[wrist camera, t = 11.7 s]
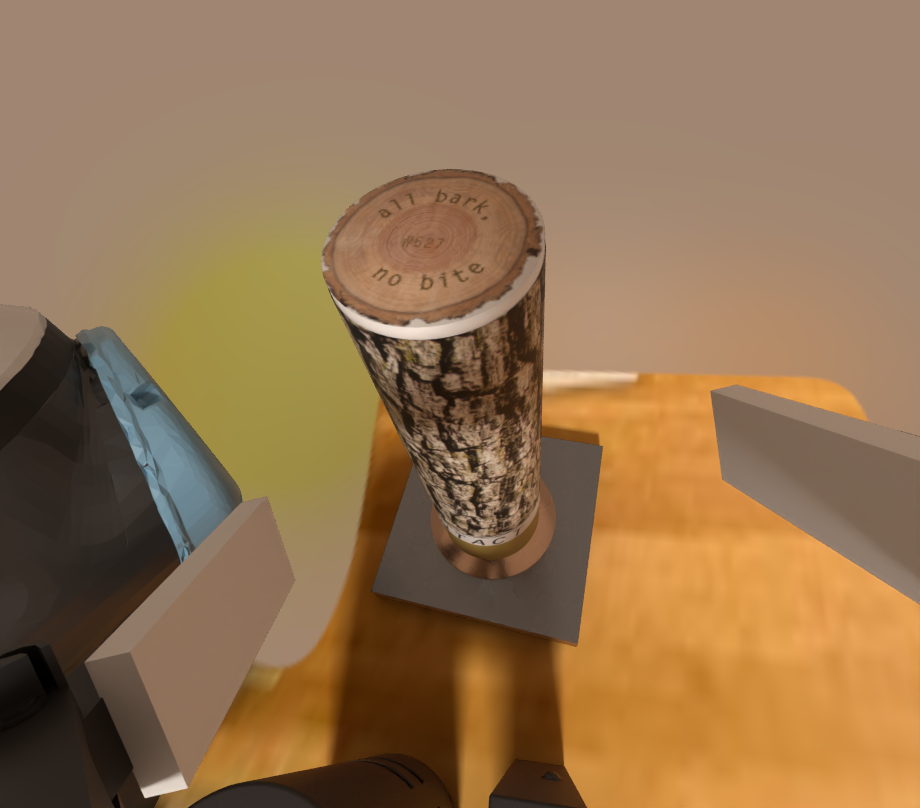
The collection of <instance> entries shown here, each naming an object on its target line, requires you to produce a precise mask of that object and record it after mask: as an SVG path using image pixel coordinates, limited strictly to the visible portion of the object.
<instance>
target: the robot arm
mask: <svg viewBox="0 0 920 808" xmlns="http://www.w3.org/2000/svg"><path fill="white" fill-rule="evenodd" d="M76 337H77V338H76V339H75V340H73V339H70V338H69V337H68V336H66V335H65V334H64V333H63V332H62V331H61V330H59V329H58V328H57V327H56V326H55V325H54V324H52V323H51V322H50V321H49V320H48V319H47V318H45V317H44V316H43V315H42V314H41V313H39V312H38V311H37V310H36V309H33V308H31V307H24V306H13V305H2V304H0V808H153V807H154V805H155V804H156V802H157V800H158V798H159V795H161V794H165V793H169V792H174V791H178V790H182V789H186V788H188V787H189V785H190V783H191V781H192V779H193V777H194V775H195V773H196V771H197V769H198V767H199V766H200V764H201V762H202V760H203V758H204V756H205V754H206V752H207V750H208V748H209V746H210V744H211V742H212V740H213V738H214V737H215V735H216V733H217V731H218V729H219V727H220V725H221V723H222V721H223V719H224V717H225V715H226V713H227V711H228V709H229V708H230V706H231V704H232V702H233V700H234V698H235V696H236V694H237V692H238V690H239V688H240V686H241V684H242V682H243V680H244V678H245V677H246V675H247V673H248V671H249V669H250V667H251V665H252V663H253V661H254V659H255V657H256V655H257V653H258V651H259V649H260V647H261V645H262V644H263V642H264V640H265V638H266V636H267V634H268V632H269V630H270V628H271V626H272V624H273V622H274V620H275V619H276V617H277V615H278V612H279V611H280V609H281V607H282V605H283V603H284V601H285V599H286V597H287V595H288V593H289V591H290V589H291V587H292V586H293V584H294V582H295V578H294V575H293V572H292V569H291V566H290V563H289V560H288V557H287V554H286V551H285V548H284V545H283V542H282V539H281V536H280V533H279V530H278V527H277V524H276V521H275V518H274V515H273V512H272V509H271V506H270V503H269V500H268V497H262V498H258V499H253V500H249V501H246V502H242V495H241V491H240V489H239V487H238V485H237V484H236V482H235V481H234V480H233V479H232V477H231V476H230V474H229V473H228V472H227V471H226V469H225V468H224V467H223V465H222V464H221V463H220V462H219V460H218V459H217V458H216V457H215V455H214V454H213V453H212V452H211V450H210V449H209V448H208V447H207V445H206V444H205V443H204V441H203V440H202V439H201V438H200V437H199V435H198V434H197V433H196V431H195V430H194V429H193V428H192V426H191V425H190V424H189V423H188V422H187V420H186V419H185V418H184V417H183V415H182V414H181V413H180V412H179V411H178V409H177V408H176V407H175V405H174V404H173V403H172V402H171V401H170V399H169V398H168V397H167V395H166V394H165V393H164V392H163V390H162V389H161V388H160V387H159V386H158V384H157V383H156V382H155V381H154V379H153V378H152V377H151V376H150V374H149V373H148V372H147V371H146V369H145V368H144V367H143V366H142V365H141V363H140V362H139V361H138V360H137V358H136V357H135V356H134V355H133V354H132V353H131V352H130V350H129V349H128V348H127V347H126V345H125V344H124V343H123V342H122V340H121V339H120V338H119V337H118V336H117V334H116V333H115V332H114V331H113V330H112V329H110V328H107V327H103V326H102V327H97V328H94V329H92V330H82V331H80V332H79V333H78V334H77V335H76ZM711 399H712V406H713V413H714V421H715V428H716V436H717V443H718V451H719V458H720V466H721V473H722V480H724V481H726V482H727V483H729V484H730V485H732V486H734V487H735V488H737V489H738V490H740V491H741V492H743V493H745V494H746V495H748V496H749V497H751V498H752V499H754V500H756V501H757V502H759V503H760V504H762V505H763V506H765V507H767V508H768V509H770V510H771V511H773V512H775V513H776V514H778V515H779V516H781V517H782V518H784V519H786V520H787V521H789V522H790V523H792V524H793V525H795V526H797V527H798V528H800V529H801V530H803V531H805V532H806V533H808V534H809V535H811V536H812V537H814V538H816V539H817V540H819V541H820V542H822V543H823V544H825V545H827V546H828V547H830V548H831V549H833V550H835V551H836V552H838V553H839V554H841V555H842V556H844V557H846V558H847V559H849V560H850V561H852V562H853V563H855V564H857V565H858V566H860V567H861V568H863V569H864V570H866V571H868V572H869V573H871V574H872V575H874V576H876V577H877V578H879V579H880V580H882V581H883V582H885V583H887V584H888V585H890V586H891V587H893V588H894V589H896V590H898V591H899V592H901V593H902V594H904V595H906V596H907V597H909V598H910V599H912V600H913V601H915V602H917V603H918V604H920V436H917V435H913V434H910V433H906V432H903V431H898V430H894V429H891V428H887V427H884V426H880V425H877V424H873V423H870V422H866V421H863V420H859V419H856V418H852V417H849V416H845V415H842V414H838V413H835V412H831V411H827V410H824V409H820V408H817V407H813V406H810V405H806V404H803V403H799V402H796V401H792V400H789V399H785V398H782V397H778V396H775V395H771V394H768V393H764V392H761V391H757V390H753V389H750V388H746V387H743V386H739V385H733V386H729V387H725V388H721V389H716V390H712V391H711Z"/></svg>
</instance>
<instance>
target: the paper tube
mask: <svg viewBox="0 0 920 808" xmlns="http://www.w3.org/2000/svg"><path fill="white" fill-rule="evenodd" d="M545 253H546V245H545V229H544V223H543V219H542V216H541V214H540V212H539V210H538V208H537V207H536V205H535V203H534V202H533V201H532V200H531V198H530V197H529V196H528V195H527V194H525V193H524V192H523V191H522V190H520V189H519V188H518V187H517V186H515V185H513V184H511V183H510V182H508V181H506V180H504V179H501V178H499V177H496V176H493V175H490V174H486V173H482V172H476V171H471V170H458V169H455V170H454V169H447V170H434V171H426V172H420V173H416V174H412V175H408V176H405V177H402V178H399V179H396V180H393V181H391V182H388V183H386V184H384V185H382V186H379V187H378V188H376V189H374V190H372V191H370V192H369V193H367V194H366V195H364V196H363V197H361V198H360V199H358V200H357V201H356V202H355V203H353V204H352V205H351V206H350V207H349V208H348V209H347V210H346V211H345V212H344V213H343V214H342V215H341V216H340V217H339V219H338V220H337V221H336V222H335V224H334V225H333V227H332V228H331V230H330V232H329V234H328V236H327V238H326V241H325V244H324V247H323V252H322V261H321V263H322V272H323V276H324V279H325V282H326V284H327V286H328V289H329V292H330V294H331V297H332V299H333V301H334V303H335V305H336V307H337V309H338V311H339V313H340V315H341V317H342V319H343V322H344V323H345V326H346V328H347V330H348V332H349V334H350V336H351V338H352V340H353V342H354V344H355V346H356V348H357V350H358V352H359V354H360V356H361V358H362V360H363V362H364V364H365V366H366V368H367V370H368V372H369V375H370V377H371V379H372V380H373V383H374V385H375V387H376V389H377V391H378V393H379V395H380V397H381V399H382V401H383V403H384V405H385V407H386V409H387V411H388V413H389V415H390V417H391V419H392V421H393V424H394V426H395V428H396V430H397V432H398V434H399V436H400V438H401V440H402V442H403V444H404V446H405V448H406V450H407V452H408V454H409V456H410V458H411V460H412V462H413V464H414V466H415V468H416V470H417V473H418V475H419V477H420V479H421V481H422V483H423V485H424V487H425V489H426V491H427V493H428V495H429V497H430V499H431V501H432V503H433V505H434V507H435V509H436V511H437V513H438V514H439V517H440V519H441V521H442V523H443V525H444V527H445V529H446V531H447V533H448V535H449V537H450V538H451V540H452V541H453V542H454V543H455V544H456V546H458V547H459V548H460V549H461V550H462V551H464V552H465V553H467V554H469V555H471V556H473V557H476V558H480V559H486V560H496V559H502V558H506V557H508V556H511V555H513V554H515V553H516V552H518V551H519V550H521V549H522V548H523V547H524V546H525V545H526V544H527V543H528V542H529V541H530V539H531V538H532V536H533V534H534V532H535V530H536V527H537V524H538V519H539V501H540V467H541V425H542V383H543V340H544V297H545V256H546V255H545Z"/></svg>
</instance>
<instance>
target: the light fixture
mask: <svg viewBox="0 0 920 808" xmlns="http://www.w3.org/2000/svg"><path fill="white" fill-rule="evenodd" d="M188 808H454V806H453V803H452V800H451V798H450V796H449V793H448V791H447V789H446V788H445V786H444V784H443V783H442V781H441V780H440V779H439V777H438V776H437V775H436V774H435V773H434V772H433V771H432V770H431V769H430V768H429V767H428V766H427V765H425V764H424V763H422V762H421V761H419V760H417V759H415V758H413V757H410V756H406V755H402V754H385V755H380V756H375V757H369V758H364V759H359V760H354V761H349V762H344V763H339V764H334V765H329V766H324V767H319V768H314V769H308V770H303V771H298V772H293V773H288V774H283V775H278V776H273V777H268V778H263V779H258V780H253V781H247V782H242V783H238V784H234V785H230V786H227V787H224V788H222V789H219V790H217V791H215V792H213V793H211V794H209V795H207V796H205V797H203V798H202V799H200V800H198V801H197V802H195V803H194V804H192V805H191V806H190V807H188ZM489 808H587V807H586V805H585V803H584V801H583V799H582V798H581V796H580V794H579V792H578V790H577V788H576V787H575V785H574V783H573V781H572V779H571V778H570V776H569V774H568V772H567V770H566V768H565V767H564V766H560V765H553V764H546V763H539V762H532V761H525V760H518V759H516V760H515V761H514V762H513V764H512V765H511V767H510V768H509V769H508V771H507V772H506V774H505V775H504V776H503V778H502V779H501V781H500V782H499V783H498V785H497V786H496V788H495V789H494V790H493V792H492V793H491V795H490V797H489Z"/></svg>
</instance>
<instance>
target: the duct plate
mask: <svg viewBox="0 0 920 808" xmlns="http://www.w3.org/2000/svg"><path fill="white" fill-rule="evenodd" d="M602 449H603V446H599V445H593V444H586V443H580V442H574V441H568V440H561V439H555V438H549V437H542V436H541V467H540V501H539V519H538V524H537V527H536V530H535V532H534V534H533V536H532V538H531V539H530V541H529V542H528V543H527V544H526V545H525V546H524V547H523V548H522V549H521V550H519V551H518V552H516V553H515V554H513V555H511V556H508V557H506V558H502V559H496V560H486V559H480V558H476V557H473V556H471V555H469V554H467V553H465V552H464V551H462V550H461V549H460V548H459V547H458V546H456V544H455V543H454V542H453V541H452V540H451V538H450V537H449V535H448V533H447V531H446V529H445V527H444V525H443V523H442V521H441V519H440V517H439V514H438V513H437V511H436V509H435V507H434V505H433V503H432V501H431V499H430V497H429V495H428V493H427V491H426V489H425V487H424V485H423V483H422V481H421V479H420V477H419V475H418V473H417V470H416V468H415V466H414V464H413V466H412V469H411V472H410V475H409V478H408V481H407V484H406V487H405V490H404V493H403V496H402V499H401V502H400V505H399V508H398V511H397V514H396V517H395V521H394V524H393V527H392V530H391V533H390V536H389V539H388V542H387V545H386V548H385V551H384V554H383V557H382V560H381V563H380V566H379V569H378V572H377V575H376V578H375V581H374V584H373V587H372V590H371V591H372V592H373V593H374V594H375V595H377V596H380V597H384V598H388V599H391V600H395V601H399V602H403V603H407V604H411V605H415V606H419V607H423V608H427V609H430V610H434V611H438V612H442V613H446V614H450V615H454V616H458V617H462V618H466V619H470V620H473V621H477V622H481V623H485V624H489V625H493V626H497V627H501V628H505V629H509V630H512V631H516V632H520V633H524V634H528V635H532V636H536V637H540V638H544V639H548V640H552V641H555V642H559V643H563V644H567V645H571V646H575V647H577V644H578V638H579V630H580V622H581V614H582V607H583V599H584V591H585V583H586V575H587V567H588V559H589V552H590V544H591V536H592V528H593V520H594V512H595V504H596V497H597V489H598V481H599V473H600V465H601V457H602Z"/></svg>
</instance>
